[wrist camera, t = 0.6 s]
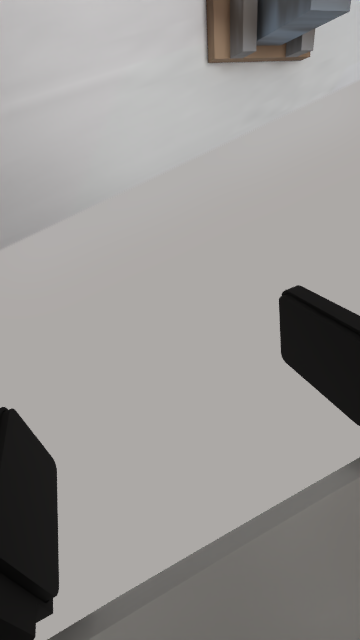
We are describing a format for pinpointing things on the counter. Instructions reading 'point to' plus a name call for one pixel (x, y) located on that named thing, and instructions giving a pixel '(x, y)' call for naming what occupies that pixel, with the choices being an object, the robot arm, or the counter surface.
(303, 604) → the robot arm
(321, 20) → the rail
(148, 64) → the counter surface
